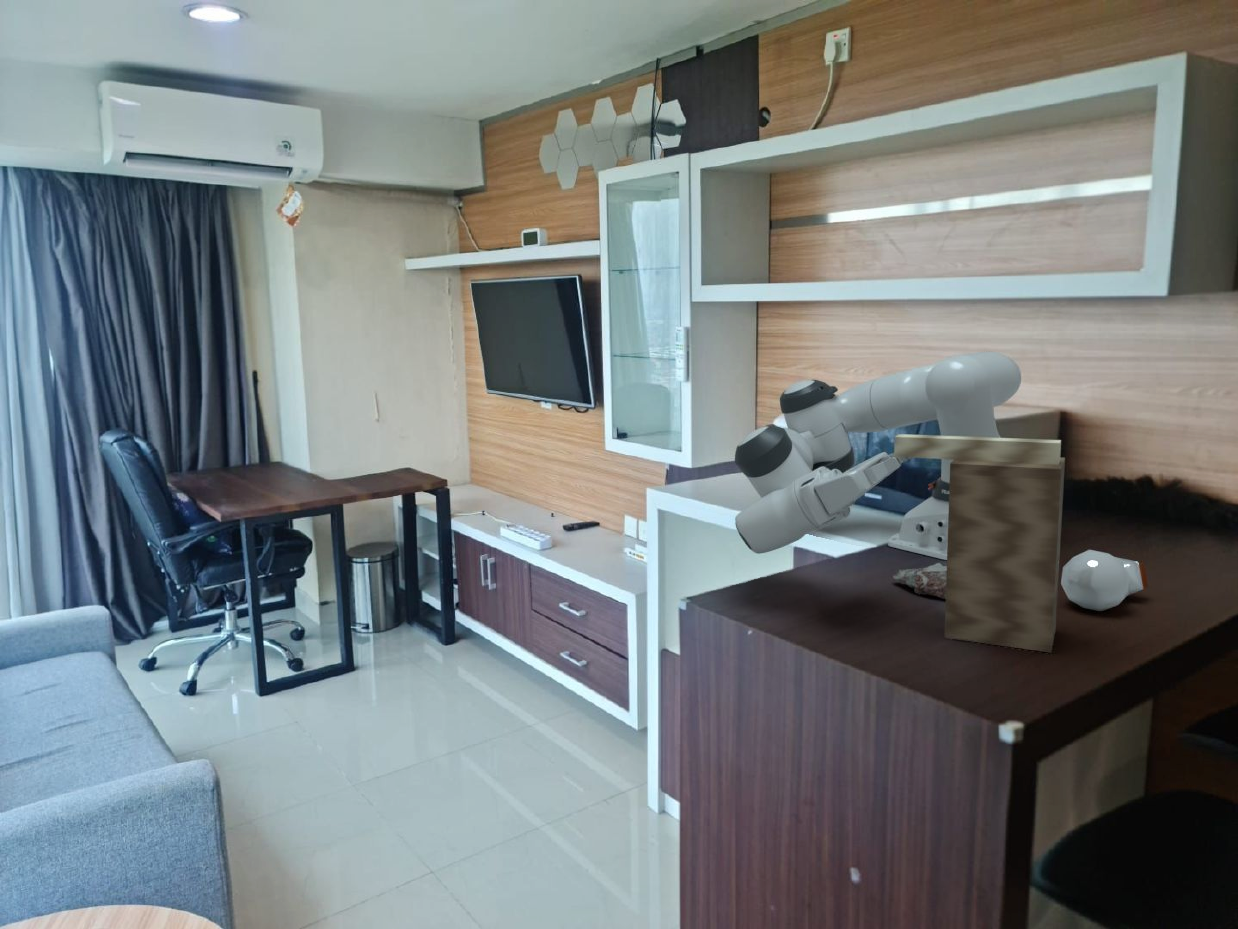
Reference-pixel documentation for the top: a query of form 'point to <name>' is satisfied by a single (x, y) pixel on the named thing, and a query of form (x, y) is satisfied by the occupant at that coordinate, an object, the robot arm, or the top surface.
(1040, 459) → the birch bar
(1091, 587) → the potion bottle
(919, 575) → the mineral rock
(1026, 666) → the top surface
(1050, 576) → the walnut block
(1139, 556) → the top surface
